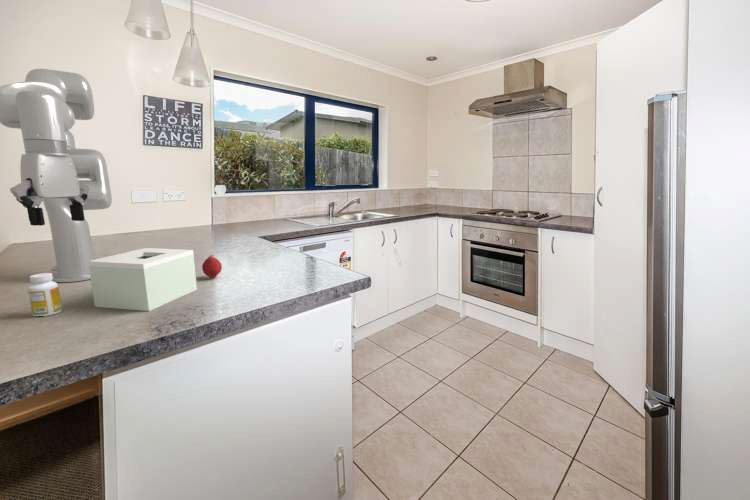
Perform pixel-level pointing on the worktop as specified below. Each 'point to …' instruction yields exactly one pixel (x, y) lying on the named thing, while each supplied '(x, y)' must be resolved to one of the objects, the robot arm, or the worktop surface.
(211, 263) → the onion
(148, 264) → the caddy
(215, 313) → the worktop surface
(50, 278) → the supplement bottle
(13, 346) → the worktop surface
